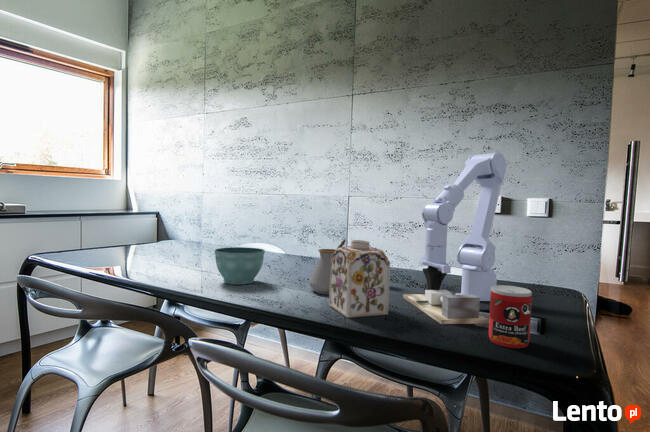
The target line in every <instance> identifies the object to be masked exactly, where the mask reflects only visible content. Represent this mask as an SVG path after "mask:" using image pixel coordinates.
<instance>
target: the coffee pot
mask: <svg viewBox="0 0 650 432" xmlns="http://www.w3.org/2000/svg"><path fill="white" fill-rule="evenodd" d="M346 242H347V243H349V242H348V240H346V239H343V240H342V241H341V242H340V244H339V245H338V246H337V248H336V249H335V248H334V249H333V248H331V249H330V248H321V249H318V250H317V251H318V252H319V256H320V257H319V258H318V260H317V263H316V265H315V267H314V270H313V271H312V272H313V273H311V274H312V275H311V276H310V279H309V280H308V281H309V282H308V283H309V286H310V288H311V289H312V290H314V292H315V293H317V294H320V295H329V293H330V271H331V257H332V255H333V253H335V251H336V250H337V249H338V248H340V247H344V246H346V244H345V243H346Z"/></svg>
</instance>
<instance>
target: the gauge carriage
mask: <svg viewBox="0 0 650 432" xmlns="http://www.w3.org/2000/svg"><path fill="white" fill-rule="evenodd" d="M424 290H425V291H424V294H425V301H416V302H417V303H423V302H428V303H429V304H431V305H442V300H443V295H454V294H453V292H452V291H449V290H446V289H440V290H428V289H424Z"/></svg>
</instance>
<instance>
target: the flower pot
mask: <svg viewBox="0 0 650 432" xmlns="http://www.w3.org/2000/svg"><path fill="white" fill-rule="evenodd" d="M265 252H266V251H265V249H264V248H259V247H237V246H236V247H233V246H232V247H220V248H215V249H214V256H215V264H216V268H217V270H218V272H219V274H220V275H221V277H222V278H223V281H224V284H227V285H238V286H239V285H248V284H252V283H254V282H255V278H256V277H257V275H259V273H260V271H261V269H262V267H263V266H262V265H263V263H264V257H265V256H264V254H265Z"/></svg>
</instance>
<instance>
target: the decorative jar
mask: <svg viewBox="0 0 650 432" xmlns="http://www.w3.org/2000/svg"><path fill="white" fill-rule="evenodd" d="M337 248H338V247H337ZM337 248H336V249H335V250H336V251H335V253H333V255H332V257H331V271H330V293H329V294H328V295H329V299H328V300H329V301H328V302H329V303H328V305H329V306H330V307H331V308H333V309H334V310H335V311H336V312H338V313H340V314H341V315H343V316H344V317H345V318H349V319H350V318H351V319H352V318H362V317H372V316H384V315H386V316H387V315H389V307H390V306H389V302H390V281H391V280H390V278H391V273H390V272H391V262H390V260H389V258H388V256H386V255H387V254H386V253H385V252H384V250H383V249H380V248H376V247H372V246H370V241H368V240H362V239H361V240H359V239H352V240H351V242H350V246H349V245H348V246H347V245H344V246H342V247H340V248H338V249H337Z"/></svg>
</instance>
